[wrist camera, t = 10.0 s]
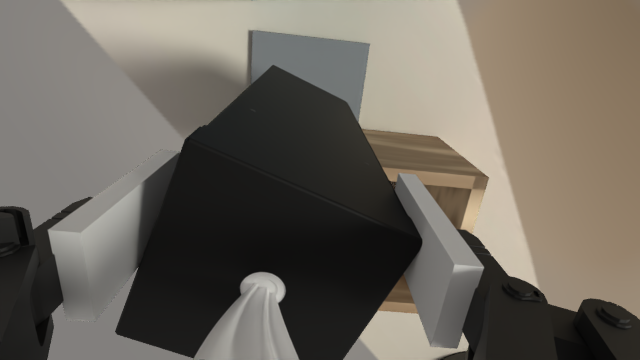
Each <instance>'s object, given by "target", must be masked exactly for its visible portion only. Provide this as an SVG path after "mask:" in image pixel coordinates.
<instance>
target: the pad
mask: <svg viewBox="0 0 640 360" xmlns="http://www.w3.org/2000/svg"><path fill="white" fill-rule="evenodd" d="M369 46H370V44H367V43H359V42H350V41H341V40H333V39H324V38H315V37H306V36H298V35H289V34H280V33H271V32H263V31H254V30H253V35H252V65H251V84H253V83H254V82H255V81H256V80H257V79H258V78H259V77H260V76H261V75H262V74H263V73H264V72H266V71H267V70H268V69H269V68H270V67H271V66H272V65H275V66H277V67H279V68H281V69H283V70H285V71H287V72H289V73H291V74H293V75H295V76H297V77H299V78H301V79H303V80H305V81H307V82H309V83H311V84H313V85H315V86H317V87H319V88H321V89H323V90H325V91H327V92H329V93H331V94H332V95H334V96H336V97H338V98H340V99H342V100H344V101H346V102H347V103H348V105H349V106H350V108H351V110H352V112H353V114H354V116H355V118H356V119H357V121H359V114H360V108H361V101H362V94H363V87H364V80H365V74H366V67H367V60H368V53H369Z"/></svg>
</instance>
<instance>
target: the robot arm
mask: <svg viewBox="0 0 640 360" xmlns="http://www.w3.org/2000/svg"><path fill="white" fill-rule="evenodd" d="M179 155H180V153H179V151H168V150H160V151H158V152H157V153H156V154H154V155H153V156H151V157H150V158H148V159H147V160H146V161H144V162H143V163H142V164H140V165H139V166H137V167H136V168H135V169H133V170H132V171H130V172H129V173H127V174H126V175H125V176H123V177H122V178H120V179H119V180H117V181H116V182H115V183H113V184H112V185H111V186H109V187H108V188H106V189H105V190H104V191H102V192H101V193H100V194H98V195H96V196H95V197H88V198H85V199H83V200H80V201H77V202H75V203H72V204H71V205H69V206H68V207H66V208H65V209H63V210H62V211H61V213H57V214H56V215H55V216H53V217H52V219H49V220H47V221H46V222H44V223H43V224H41V225H40V226H38V227H37V228H35V229H34V230H33V228H32V223H31V219H30V214H29V211H28V210H26V209H24V208H21V207H14V206H10V207H9V206H8V207H0V360H47V358H48V353H49V348H50V343H51V338H52V333H53V329H54V325H53V320H52V315H51V313H52V312H53V311H54V310H55V309H56V308H57V307H58V306H59V305H60V304H61V303H63V308H64V313H65V318H66V320H76V321H89V322H95V321H96V320H97V319H98V318H99V316H100V315H101V314H102V313H103V311H104V310H105V309H106V307H107V306H108V305H109V304H110V302H111V301H112V300H113V298H114V297H115V296H116V295H117V293H118V292H119V291H120V289H121V288H122V287H123V286H124V284H125V283H126V282H127V281H128V279H129V278H130V277H131V275H132V274H133V273H134V272H135V270H136V269H137V268H138V267H139V265H140V262H141V259H142V256H143V254H144V251H145V248H146V246H147V243H148V240H149V237H150V235H151V232H152V229H153V226H154V224H155V221H156V218H157V215H158V213H159V210H160V207H161V204H162V202H163V199H164V196H165V193H166V191H167V188H168V185H169V182H170V180H171V177H172V174H173V171H174V169H175V166H176V163H177V160H178V158H179ZM395 192H396V194H397V196H398V198H399V200H400V201H401V203H402V205H403V207H404V209H405V211H406V213H407V215H408V216H409V217H411V219H412V221H413V222H414V224H415V226H416V228H417V230H418V232H419V234H420V236H421V238H422V241H423V243H422V247H421V249H420V251H419V252H418V254H417V255H416V257H415V258H414V260H413V261H412V262H411V264H410V265H409V267H408V268H407V269H406V271H405V272H404V276H405V279H406V282H407V284H408V287H409V290H410V292H411V295H412V298H413V300H414V303H415V306H416V308H417V311H418V314H419V317H420V319H421V322H422V325H423V327H424V330H425V333H426V335H427V338H428V341H429V343H430V346H431V347H443V348H458V345H459V342H460V339H461V336H462V332H463V333H464V335H465V337H466V339H467V341H468V343H469V347H468V350H467V352H464V353H459V354H455V355H452V356H449V357H446V358H444V359H442V360H640V320H639V319H638V318H637V317H636V316H635V315H633V314H631V313H630V312H628V311H627V310H626V309H624V308H623V307H621V306H619V305H618V306H617V305H616V304H614V303H611V302H606V301H603V300H600V299H586V300H583V302H582V303H581V305H580V307H579V310H578V312H574V311H571V310H568V309H564V308H560V307H557V306H553V305H550V304H548V302H547V300H546V298H545V296H544V294H543V293H542V292H541V291H540V290H538V289H537V288H536V287H534V286H533V285H531V284H529V283H528V282H526V281H523V280H521V279H518V278H515V277H510V276H508V275H507V273H506V272H505V271H504V270H503V268H502V267H501V266H500V265H499V264H498V262H497V261H496V260H495V259H494V257H493V256H491V254H490V252H489V251H488V250H487V249H485V246H484V245H483V244H482V243H481V241H480V240H479V239H478V238H477V237H475V236H474V235H473V234H471V233H470V232H468V231H467V230H462V229H456V228H455V227H454V226H453V224H452V223H451V222H450V220H449V219H448V218H447V216H446V215H445V213H444V212H443V211H442V209H441V208H440V207H439V205H438V204H437V203H436V201H435V200H434V199H433V197H432V196H431V194H430V193H429V192H428V190H427V189H426V188H425V186H424V185H423V184H422V182H421V181H420V180H419V178H418V177H417V175H415V174H405V173H398V177H397V182H396V187H395Z"/></svg>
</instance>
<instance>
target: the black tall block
mask: <svg viewBox="0 0 640 360" xmlns="http://www.w3.org/2000/svg"><path fill="white" fill-rule="evenodd" d="M422 243H423V241H422V238H421V236H420V234H419V232H418V230H417V228H416V226H415V224H414V222H413V221H412V219H411V217H409V216H408V215H407V213H406V211H405V209H404V207H403V205H402V203H401V201H400V200H399V198H398V196H397V194H396V192H395V190H394V188H393V186H392V185H391V183H390V181H389V179H388V177H387V175H386V173H385V172H384V170H383V168H382V166H381V164H380V162H379V160H378V159H377V157H376V155H375V153H374V151H373V149H372V147H371V146H370V144H369V142H368V140H367V138H366V136H365V134H364V133H363V131H362V129H361V127H360V125H359V123H358V121H357V119H356V118H355V116H354V114H353V112H352V110H351V108H350V106H349V105H348V103H347V102H346V101H344V100H342V99H340V98H338V97H336V96H334V95H332V94H331V93H329V92H327V91H325V90H323V89H321V88H319V87H317V86H315V85H313V84H311V83H309V82H307V81H305V80H303V79H301V78H299V77H297V76H295V75H293V74H291V73H289V72H287V71H285V70H283V69H281V68H279V67H277V66H275V65H272V66H271V67H270V68H269V69H268V70H267V71H266V72H264V73H263V74H262V75H261V76H260V77H259V78H258V79H257V80H256V81H255V82H254V83H253V84H251V85H250V86H249V87H248V88H247V89H246V90H245V91H244V92H243V93H242V94H241V95H240V96H238V97H237V98H236V99H235V100H234V101H233V102H232V103H231V104H230V105H229V106H228V107H227V108H225V109H224V110H223V111H222V112H221V113H220V114H219V115H218V116H217V117H216V118H215V119H214V120H212V121H211V122H210V123H209V124H208V125H204V126H202V127H199V128H198V129H197V130H195V131H194V132H193V133H192V134H191V135H190V136H189V137H187V138H186V139H185V141H184V144H183V147H182V150H181V152H180V155H179V158H178V160H177V163H176V166H175V169H174V171H173V174H172V177H171V180H170V182H169V185H168V188H167V191H166V193H165V196H164V199H163V202H162V204H161V207H160V210H159V213H158V215H157V218H156V221H155V224H154V226H153V229H152V232H151V235H150V237H149V240H148V243H147V246H146V248H145V251H144V254H143V256H142V259H141V262H140V265H139V267H138V270H137V273H136V276H135V278H134V281H133V284H132V287H131V289H130V292H129V295H128V298H127V301H126V303H125V306H124V309H123V311H122V314H121V317H120V320H119V322H118V325H117V328H116V331H115V332H116V333H117V335H120V336H124V337H127V338H130V339H133V340H136V341H140V342H143V343H146V344H149V345H152V346H156V347H159V348H162V349H165V350H169V351H172V352H175V353H178V354H181V355H185V356H188V357H191V358H194V359H193V360H343V359H344V357H345V356H346V354H347V353H348V352H349V350H350V349H351V347H352V346H353V345H354V343H355V342H356V340H357V339H358V337H359V336H360V335H361V333H362V332H363V330H364V329H365V328H366V326H367V325H368V323H369V322H370V320H371V319H372V318H373V316H374V315H375V313H376V312H377V311H378V309H379V308H380V306H381V305H382V303H383V302H384V301H385V299H386V298H387V296H388V295H389V294H390V292H391V291H392V289H393V288H394V286H395V285H396V284H397V282H398V281H399V279H400V278H401V277H402V275H403V274H404V272H405V271H406V269H407V268H408V267H409V265H410V264H411V262H412V261H413V260H414V258H415V257H416V255H417V254H418V252H419V251H420V249H421V247H422Z"/></svg>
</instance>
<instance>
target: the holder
mask: <svg viewBox="0 0 640 360" xmlns="http://www.w3.org/2000/svg"><path fill="white" fill-rule="evenodd" d="M362 131H363V133H364V134H365V136H366V138H367V140H368V142H369V144H370V146H371V147H372V149H373V151H374V153H375V155H376V157H377V159H378V160H379V162H380V164H381V166H382V168H383V170H384V172H385V173H386V175H387V177H388V179H389V181H394V182H397V177H398V173H405V174H415V175H417V177H418V178H419V180H420V181H421V182H422V184H423V185H424V186H425V188H426V189H427V190H428V192H429V193H430V194H431V196H432V197H433V199H434V200H435V201H436V203H437V204H438V205H439V207H440V208H441V209H442V211H443V212H444V213H445V215H446V216H447V218H448V219H449V220H450V222H451V223H452V224H453V226H454V227H455V228H456V229H462V230H467V231H468V232H470V233H471V234H472V232H473V229H474V226H475V222H476V219H477V216H478V212H479V209H480V206H481V202H482V199H483V196H484V192H485V189H486V186H487V182H488V179H489V177H487V176H486V175H485V174H484V173H482V172H481V171H480V170H479V169H477V168H476V167H475V166H474V165H472V164H471V163H470V162H469V161H467V160H466V159H465V158H464V157H462V156H461V155H460V154H459V153H457V152H456V151H455V150H454V149H452V148H451V147H450V146H449V145H447V144H446V143H445V142H444V141H442V140H441V139H440V138H438V137H433V136H423V135H413V134H404V133H394V132H384V131H375V130H365V129H362ZM378 310H379V311H391V312H404V313H417V314H418V311H417V308H416V306H415V303H414V300H413V298H412V295H411V292H410V290H409V287H408V284H407V282H406V279H405V276H404V274H403V275H402V277H401V278H400V279H399V281H398V282H397V284H396V285H395V286H394V288H393V289H392V291H391V292H390V294H389V295H388V296H387V298H386V299H385V301H384V302H383V303H382V305H381V306H380V308H379V309H378Z"/></svg>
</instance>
